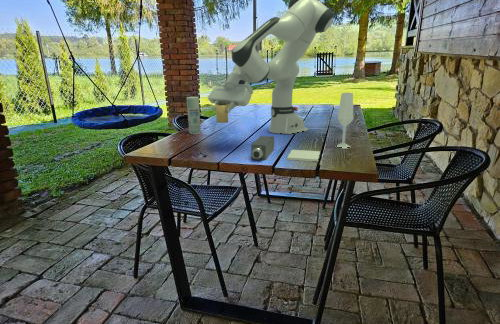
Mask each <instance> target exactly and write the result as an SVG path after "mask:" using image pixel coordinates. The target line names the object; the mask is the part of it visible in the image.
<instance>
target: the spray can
mask: <svg viewBox="0 0 500 324" xmlns="http://www.w3.org/2000/svg"><path fill="white" fill-rule="evenodd" d="M199 99H200V98H199V96H187V97H186V109H187V119H188V121H187V122H188V132H189V134H190V135H199V134H201V120H200V117H201V116H200V100H199Z"/></svg>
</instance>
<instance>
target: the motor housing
mask: <svg viewBox="0 0 500 324" xmlns="http://www.w3.org/2000/svg"><path fill="white" fill-rule="evenodd" d="M250 147H251V148H250V149H251V151H250V153H251V154H250V157H251V159H252V160H257V161H258V160H263V161H264V160H265V161H266V160H267V159H268V158H269V157H270V156H271V154H272V153H273V152H274V150H275V136H271V135H270V136H269V135H260V136H259V137H258V138H257V139H256V140H254V142H252V143H251V144H250Z"/></svg>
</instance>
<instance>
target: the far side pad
mask: <svg viewBox="0 0 500 324" xmlns="http://www.w3.org/2000/svg"><path fill="white" fill-rule="evenodd" d="M319 155H320V156H321V151H319V150H301V149H291V150H290V153H288V155H287V159H286V160H287V161H297V160H298V162H312V161H317V162H316V163H318V162H319V160H318V159H320V156H319Z"/></svg>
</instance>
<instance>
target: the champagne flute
mask: <svg viewBox="0 0 500 324" xmlns="http://www.w3.org/2000/svg"><path fill="white" fill-rule="evenodd" d="M353 120H354V93H353V92H341V94H340V100H339V107H338V113H337V121H338V122H339V123H340V124H341V125H342V137H341V138H342V140H341V142H340V143H338V144H336V145H337V147H342V148H341V149H348V148H347V147H350V148H351V145H349V144H347V143H346V132H347V126H348V125H350V124H351V123H352V122H353ZM337 147H336V148H337Z"/></svg>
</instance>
